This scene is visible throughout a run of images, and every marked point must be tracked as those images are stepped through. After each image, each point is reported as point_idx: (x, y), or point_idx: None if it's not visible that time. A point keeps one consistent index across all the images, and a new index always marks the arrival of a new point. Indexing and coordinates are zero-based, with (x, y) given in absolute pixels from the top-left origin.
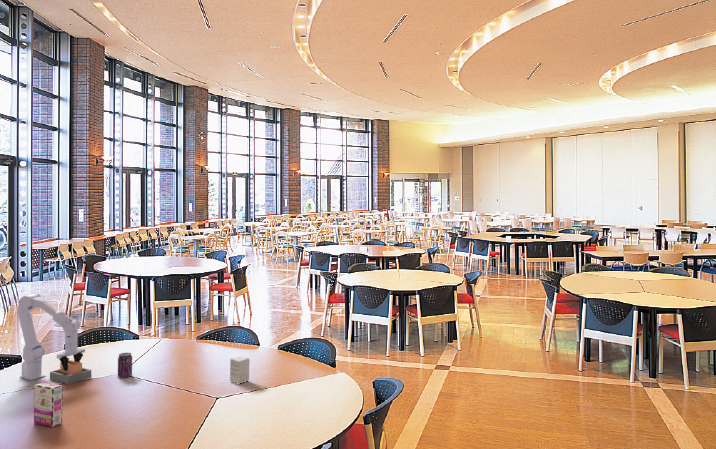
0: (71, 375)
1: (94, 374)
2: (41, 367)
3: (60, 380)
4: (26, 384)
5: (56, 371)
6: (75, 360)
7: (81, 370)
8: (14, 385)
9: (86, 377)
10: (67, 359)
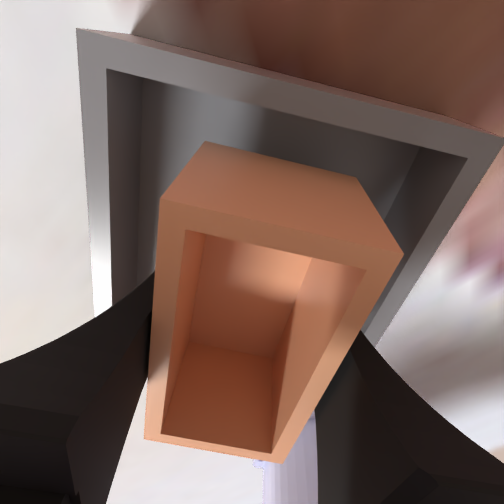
0: (441, 134)
1: (35, 89)
2: (291, 487)
3: None
4: (453, 399)
5: None
6: (139, 378)
7: (207, 150)
8: (474, 432)
9: (198, 53)
10: (455, 463)
